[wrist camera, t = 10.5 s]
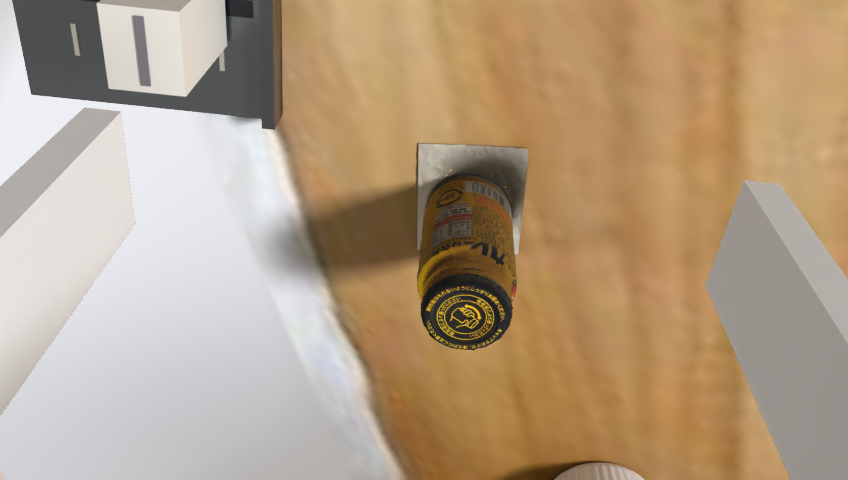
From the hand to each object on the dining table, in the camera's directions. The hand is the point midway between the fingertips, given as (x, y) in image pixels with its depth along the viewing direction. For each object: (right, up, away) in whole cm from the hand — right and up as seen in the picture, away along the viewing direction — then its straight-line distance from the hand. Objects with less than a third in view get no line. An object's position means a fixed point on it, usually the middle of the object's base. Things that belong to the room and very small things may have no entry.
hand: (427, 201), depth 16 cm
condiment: (+3, +2, +37) cm, 37 cm away
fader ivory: (-14, +13, +29) cm, 34 cm away
